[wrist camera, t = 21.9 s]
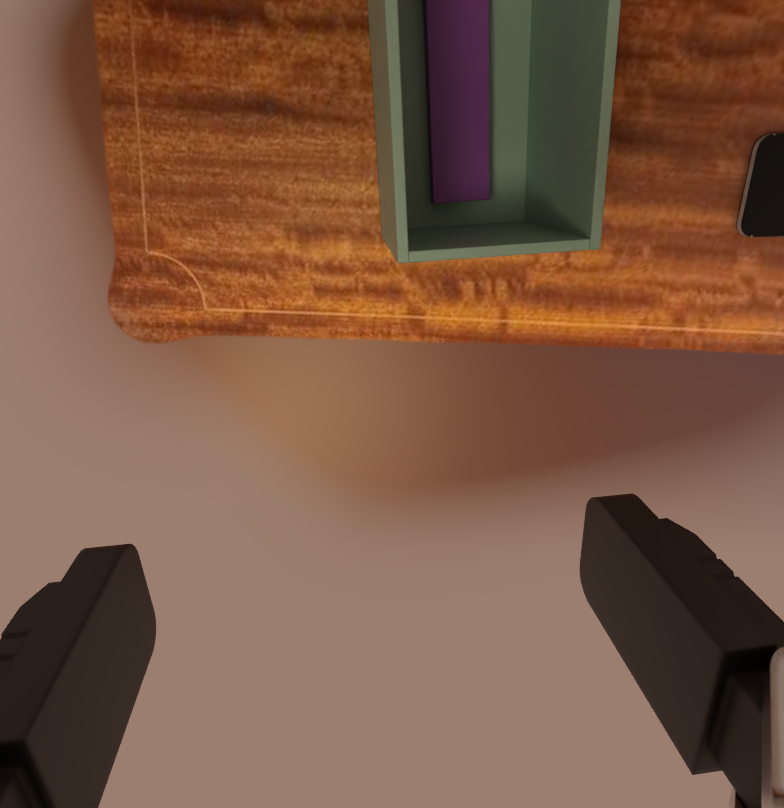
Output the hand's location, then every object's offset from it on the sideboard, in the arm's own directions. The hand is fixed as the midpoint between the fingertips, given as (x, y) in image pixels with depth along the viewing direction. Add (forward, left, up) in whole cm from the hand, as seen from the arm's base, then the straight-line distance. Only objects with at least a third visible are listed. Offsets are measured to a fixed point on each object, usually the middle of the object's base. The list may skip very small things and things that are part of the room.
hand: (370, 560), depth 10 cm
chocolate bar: (+8, +14, -35) cm, 38 cm away
